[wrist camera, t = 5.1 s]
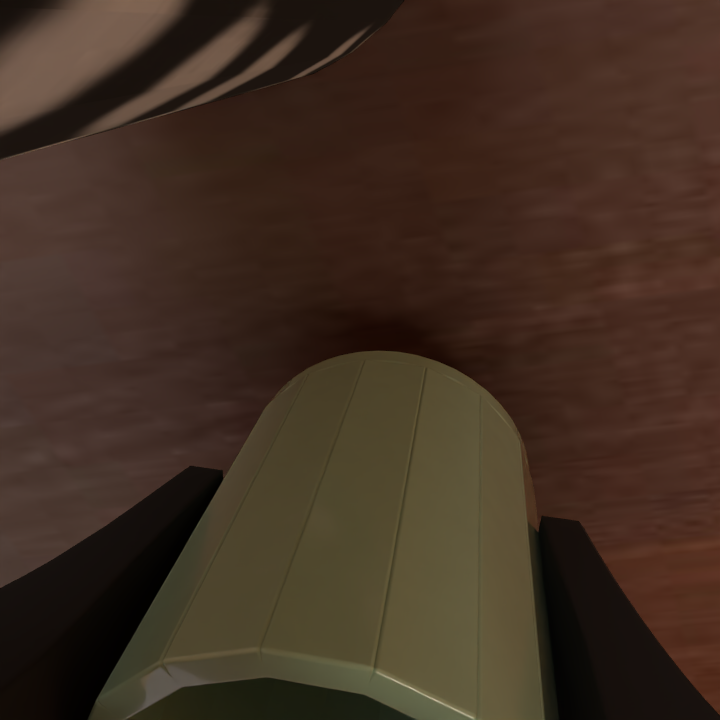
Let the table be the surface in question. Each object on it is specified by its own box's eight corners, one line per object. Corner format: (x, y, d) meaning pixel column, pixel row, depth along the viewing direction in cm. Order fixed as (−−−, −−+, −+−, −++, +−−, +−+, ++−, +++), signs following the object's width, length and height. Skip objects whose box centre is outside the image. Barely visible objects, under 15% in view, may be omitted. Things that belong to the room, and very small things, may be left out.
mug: (251, 333, 13) (40, 611, 7) (552, 368, 12) (622, 713, 6) (257, 666, 17) (127, 1034, 11) (485, 707, 16) (487, 1124, 10)
